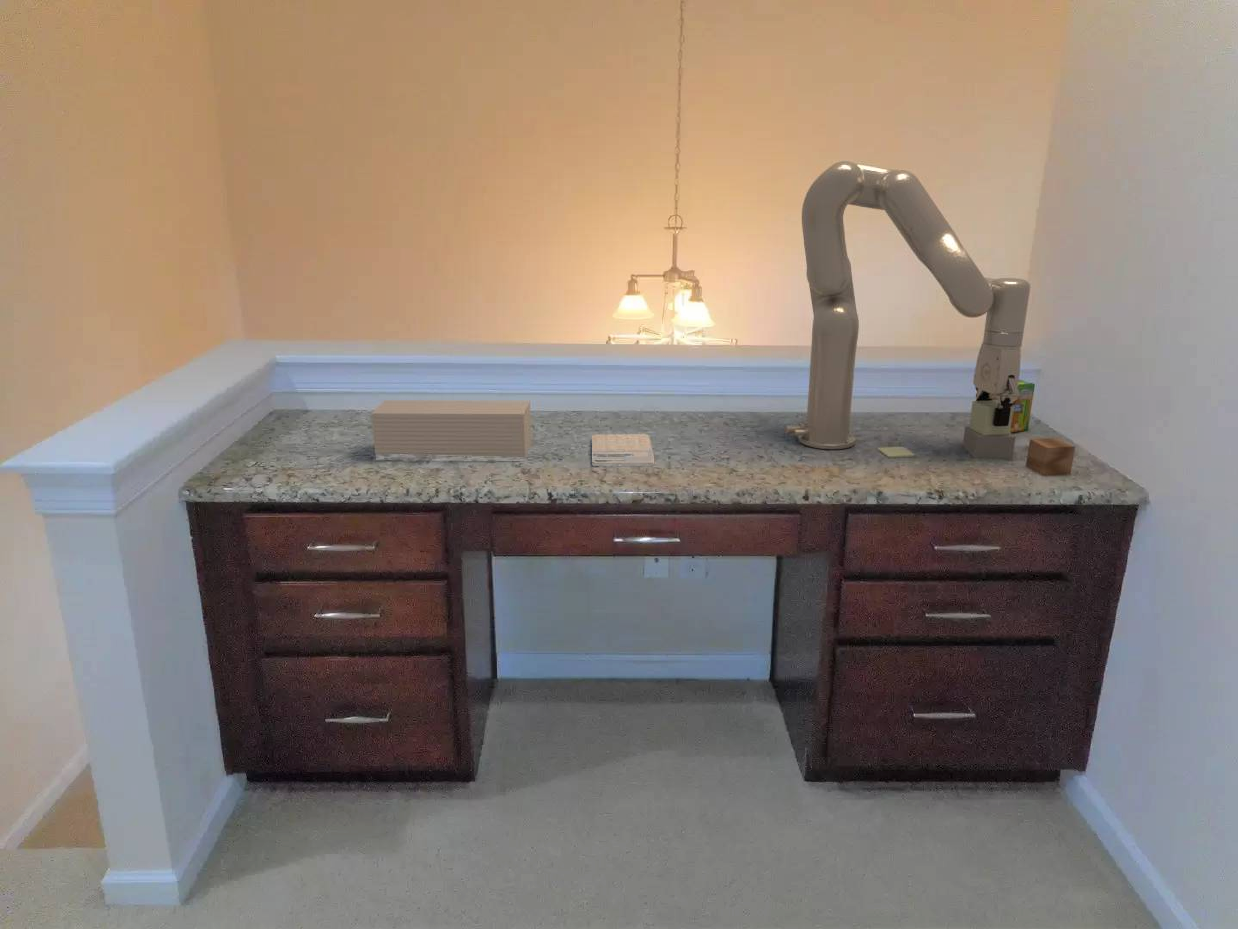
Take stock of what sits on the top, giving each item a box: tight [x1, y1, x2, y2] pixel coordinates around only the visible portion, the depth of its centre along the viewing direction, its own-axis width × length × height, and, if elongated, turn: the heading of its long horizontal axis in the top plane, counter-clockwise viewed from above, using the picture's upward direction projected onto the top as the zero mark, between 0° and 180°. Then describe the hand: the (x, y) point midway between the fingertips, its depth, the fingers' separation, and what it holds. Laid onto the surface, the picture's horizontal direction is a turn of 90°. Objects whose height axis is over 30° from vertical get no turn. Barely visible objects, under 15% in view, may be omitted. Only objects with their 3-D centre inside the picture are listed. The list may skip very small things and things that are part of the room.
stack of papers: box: [371, 400, 532, 457], centre depth 187 cm, size 32×11×11 cm, turn 89°
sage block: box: [968, 400, 1014, 435], centre depth 186 cm, size 6×6×6 cm
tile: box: [876, 446, 916, 459], centre depth 188 cm, size 6×6×1 cm
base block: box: [962, 425, 1016, 459], centre depth 188 cm, size 8×8×5 cm
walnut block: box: [1025, 437, 1076, 477], centre depth 176 cm, size 6×6×6 cm
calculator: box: [591, 433, 655, 464], centre depth 189 cm, size 13×20×2 cm, turn 2°
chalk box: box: [975, 379, 1036, 434], centre depth 203 cm, size 9×9×15 cm
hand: (991, 420), depth 186 cm, fingers open, 6 cm apart
